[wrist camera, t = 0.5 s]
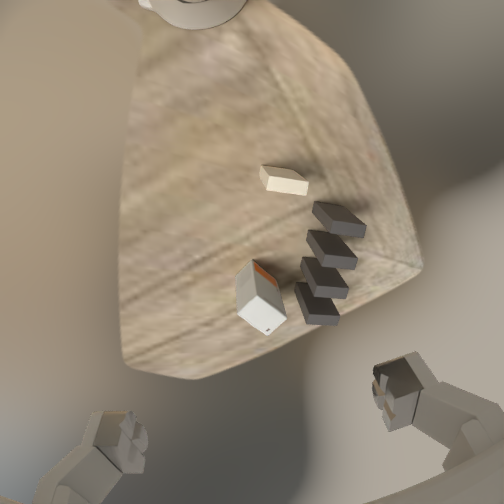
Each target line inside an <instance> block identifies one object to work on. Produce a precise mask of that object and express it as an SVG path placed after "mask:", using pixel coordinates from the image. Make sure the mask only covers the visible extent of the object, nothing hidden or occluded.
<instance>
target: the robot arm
mask: <svg viewBox="0 0 504 504" xmlns="http://www.w3.org/2000/svg"><path fill="white" fill-rule="evenodd" d="M246 1H247V0H139V4H140V6H141V7H142V8H145V9H148V10H151V11H155V12H156V13H157V14H159V15H160V16H161V17H162V18H163V19H164V20H165V21H167V22H168V23H170V24H172V25H174V26H177V27H180V28H184V29H193V30H197V29H206V28H211V27H215V26H217V25H220V24H222V23H224V22H226V21H228V20H229V19H231V18H232V17H234V16H235V15H236V14H237V13H238V12H239V11H240V10H241V8H242V7H243V5H244V4H245V2H246ZM373 375H374V377H375V380H374V381H373V382H372V391H373V396H374V400H375V403H376V405H377V407H378V408H379V409H381V410H383V416H382V418H383V420H384V423H385V425H386V427H387V429H388V431H389V432H391V431H394V430H397V429H399V428H402V427H405V426H408V425H411V424H412V425H413V426H414V427H416V428H417V429H419V430H420V431H422V432H423V433H425V434H427V435H428V436H430V437H431V438H433V439H435V440H436V441H438V442H439V443H441V444H442V445H444V446H446V447H447V448H449V449H450V451H449V453H448V455H447V457H446V458H445V460H444V462H443V465H442V466H443V468H444V470H445V472H444V473H441V474H439V475H437V476H435V477H433V478H430V479H428V480H426V481H424V482H421V483H419V484H417V485H414V486H412V487H409V488H407V489H405V490H402V491H399V492H397V493H394V494H391V495H388V496H386V497H383V498H380V499H377V500H374V501H371V502H368V503H364V504H504V412H503V411H502V409H501V408H500V406H499V405H498V404H497V403H494V402H491V401H489V400H487V399H484V398H481V397H479V396H477V395H474V394H472V393H469V392H467V391H465V390H462V389H459V388H457V387H455V386H453V385H450V384H448V383H445V382H440V383H439V382H438V381H437V379H436V378H435V376H434V375H433V373H432V372H431V370H430V369H429V368H428V366H427V365H426V363H425V362H424V360H423V359H422V358H421V356H420V355H419V353H418V352H416V351H415V352H412V353H409V354H406V355H404V356H402V357H401V356H400V357H397V358H395V359H392V360H389V361H386V362H383V363H380V364H377V365H375V366H374V368H373ZM147 446H148V437H147V432H146V430H145V428H144V427H143V425H142V424H140V423H138V422H137V421H136V416H135V414H134V413H133V412H132V411H104V412H102V411H96V412H93V413H92V414H91V416H90V419H89V422H88V425H87V428H86V431H85V434H84V436H83V440H82V443H81V445H80V446H76V447H75V448H74V449H73V450H72V451H71V452H70V453H69V454H68V455H66V456H65V457H64V458H63V459H62V460H61V461H60V462H59V463H58V464H57V465H56V466H55V467H53V468H52V469H51V470H50V471H49V472H48V473H47V474H46V475H44V476H43V477H42V478H41V479H40V480H39V483H38V486H37V489H36V492H35V496H34V499H33V502H32V504H100V503H101V502H102V501H103V499H104V498H105V497H106V496H107V494H108V493H109V492H110V490H111V489H112V488H113V486H114V485H115V484H116V482H117V481H118V480H119V479H120V477H121V476H122V475H123V474H122V473H143V470H144V464H145V457H144V455H143V454H142V453H143V452H144V451H145V450H146V449H147ZM0 504H23V503H20V502H17V501H14V500H11V499H8V498H6V497H3V496H0Z"/></svg>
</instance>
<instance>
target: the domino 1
mask: <svg viewBox="0 0 504 504" xmlns="http://www.w3.org/2000/svg"><path fill="white" fill-rule="evenodd" d="M259 177H260V179H261V181H262V183H263V184H264V186H265V188H266V190H269V191H276V192H283V193H290V194H297V195H303V196H306V194H307V189H308V184H309V182H308V181H307V180H306V179H304V178H303V177H302V176H301V175H299V174H298V173H297V172H295V171H294V170H290V169H284V168H278V167H271V166H264V165H261V168H260V175H259Z"/></svg>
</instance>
